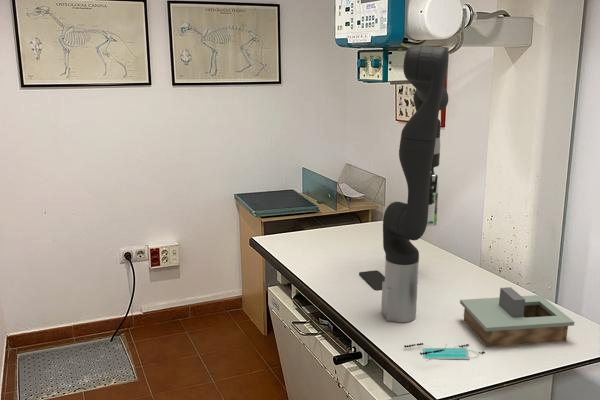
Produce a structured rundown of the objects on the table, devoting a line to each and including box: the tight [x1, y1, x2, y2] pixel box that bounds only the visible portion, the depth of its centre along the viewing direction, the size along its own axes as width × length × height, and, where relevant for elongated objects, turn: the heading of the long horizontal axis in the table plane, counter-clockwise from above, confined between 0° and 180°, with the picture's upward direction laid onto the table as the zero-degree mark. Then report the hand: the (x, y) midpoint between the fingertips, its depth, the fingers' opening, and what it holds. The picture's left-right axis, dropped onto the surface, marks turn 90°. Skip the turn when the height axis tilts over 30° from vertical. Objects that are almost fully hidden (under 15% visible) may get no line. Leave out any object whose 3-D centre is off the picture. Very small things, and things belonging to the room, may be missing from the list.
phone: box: [358, 269, 385, 291], centre depth 196 cm, size 7×1×15 cm
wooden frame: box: [463, 305, 569, 348], centre depth 161 cm, size 22×15×5 cm
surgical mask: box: [403, 342, 486, 362], centre depth 150 cm, size 21×4×10 cm
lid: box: [459, 286, 576, 331], centre depth 160 cm, size 24×17×6 cm
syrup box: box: [426, 181, 439, 227], centre depth 194 cm, size 6×6×14 cm
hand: (425, 201), depth 194 cm, fingers closed on syrup box, 6 cm apart
